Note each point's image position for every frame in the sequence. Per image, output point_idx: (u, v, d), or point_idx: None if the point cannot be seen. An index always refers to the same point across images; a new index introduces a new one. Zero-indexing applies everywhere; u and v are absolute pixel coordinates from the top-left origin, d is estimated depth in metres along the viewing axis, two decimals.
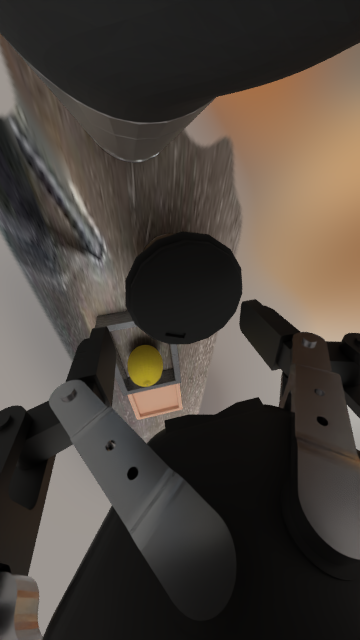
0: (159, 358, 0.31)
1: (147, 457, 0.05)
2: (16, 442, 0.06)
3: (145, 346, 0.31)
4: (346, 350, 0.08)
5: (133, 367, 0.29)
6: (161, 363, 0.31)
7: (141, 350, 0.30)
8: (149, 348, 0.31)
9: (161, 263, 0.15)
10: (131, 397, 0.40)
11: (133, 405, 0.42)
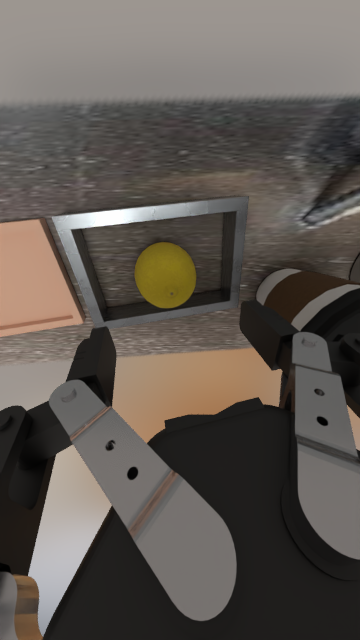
0: None
1: (147, 457, 0.05)
2: (16, 442, 0.06)
3: None
4: (346, 350, 0.08)
5: (189, 261, 0.16)
6: None
7: None
8: None
9: None
10: (18, 229, 0.17)
11: None
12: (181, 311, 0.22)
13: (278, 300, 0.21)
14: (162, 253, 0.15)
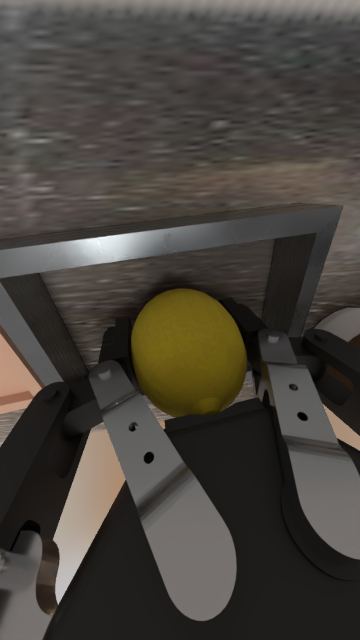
0: None
1: (164, 446, 0.05)
2: (58, 415, 0.06)
3: None
4: (309, 347, 0.08)
5: (237, 336, 0.08)
6: None
7: None
8: None
9: None
10: None
11: None
12: None
13: None
14: (187, 328, 0.07)
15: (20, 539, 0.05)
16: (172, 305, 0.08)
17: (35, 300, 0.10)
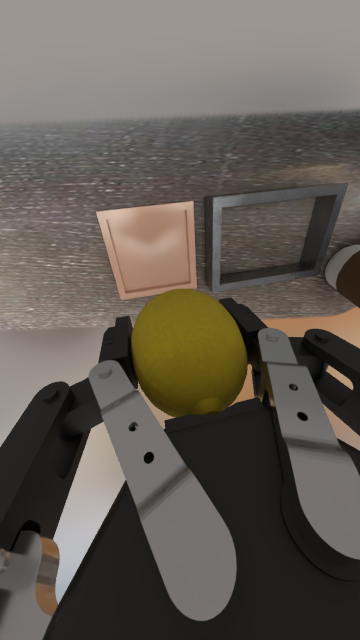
0: None
1: (164, 446, 0.05)
2: (58, 416, 0.06)
3: None
4: (309, 347, 0.08)
5: (238, 337, 0.08)
6: None
7: None
8: None
9: None
10: (177, 208, 0.22)
11: (151, 209, 0.22)
12: (277, 277, 0.27)
13: (357, 267, 0.26)
14: (187, 328, 0.07)
15: (20, 539, 0.05)
16: (172, 305, 0.08)
17: None
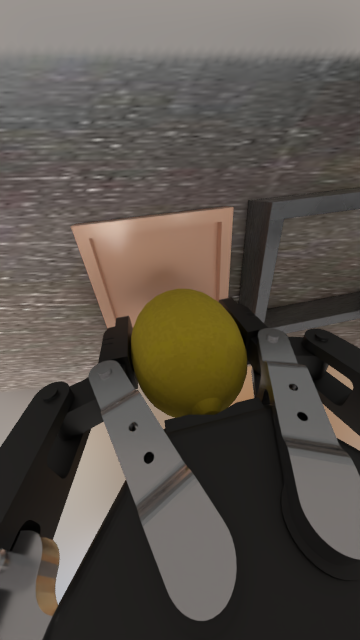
0: None
1: (163, 446, 0.05)
2: (58, 415, 0.06)
3: None
4: (309, 347, 0.08)
5: (238, 337, 0.08)
6: None
7: None
8: None
9: None
10: (207, 219, 0.13)
11: (165, 221, 0.13)
12: (343, 316, 0.19)
13: None
14: (187, 328, 0.07)
15: (20, 539, 0.05)
16: (172, 305, 0.08)
17: None
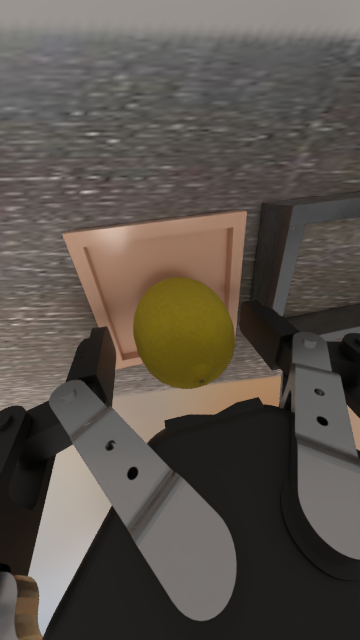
0: None
1: (147, 457, 0.05)
2: (16, 442, 0.06)
3: None
4: (346, 350, 0.08)
5: (226, 315, 0.09)
6: None
7: None
8: None
9: None
10: (217, 224, 0.12)
11: (170, 227, 0.11)
12: None
13: None
14: (182, 306, 0.09)
15: None
16: (169, 289, 0.10)
17: None
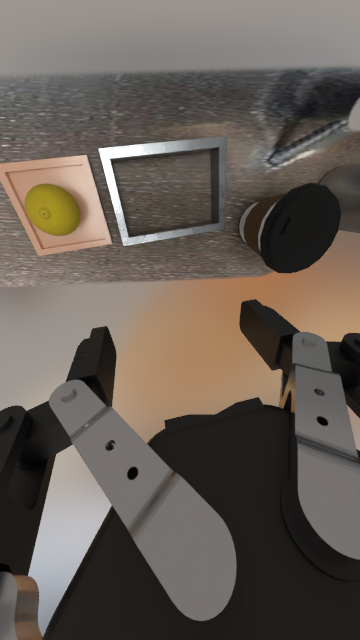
0: (72, 231, 0.25)
1: (147, 457, 0.05)
2: (16, 442, 0.06)
3: (79, 212, 0.26)
4: (346, 350, 0.08)
5: (62, 194, 0.22)
6: (66, 234, 0.25)
7: (78, 207, 0.25)
8: None
9: (336, 213, 0.25)
10: (72, 162, 0.24)
11: (47, 162, 0.24)
12: (184, 230, 0.30)
13: (252, 217, 0.29)
14: (38, 186, 0.21)
15: None
16: None
17: (114, 177, 0.26)
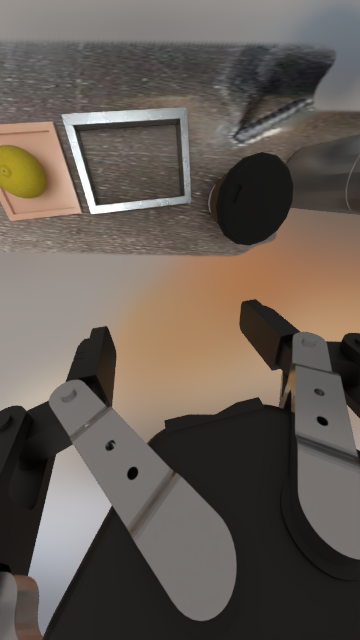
0: (38, 194, 0.27)
1: (147, 457, 0.05)
2: (16, 442, 0.06)
3: (46, 177, 0.27)
4: (346, 350, 0.08)
5: (23, 155, 0.23)
6: (31, 196, 0.26)
7: (43, 171, 0.26)
8: (46, 182, 0.27)
9: (288, 183, 0.26)
10: (39, 128, 0.26)
11: (14, 127, 0.25)
12: (150, 202, 0.31)
13: (215, 189, 0.30)
14: (0, 146, 0.23)
15: None
16: None
17: (80, 145, 0.27)
